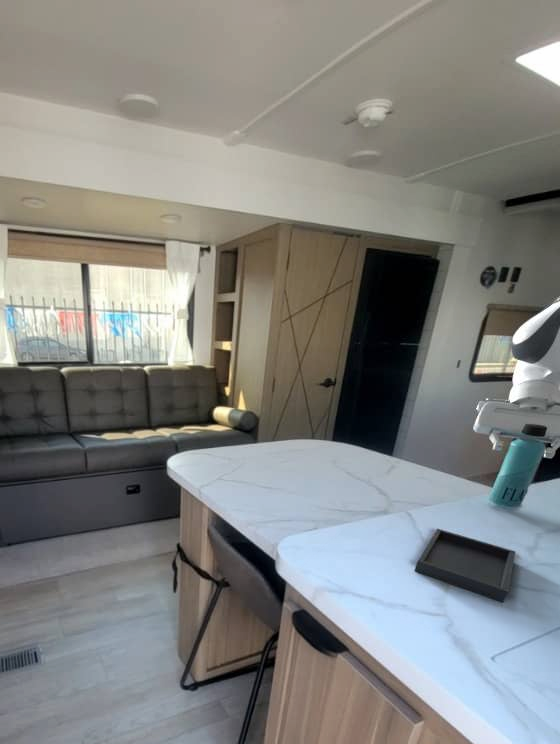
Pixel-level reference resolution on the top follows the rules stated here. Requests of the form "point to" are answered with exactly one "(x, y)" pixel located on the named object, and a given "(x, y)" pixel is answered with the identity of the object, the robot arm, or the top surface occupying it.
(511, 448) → the beverage bottle
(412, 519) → the top surface
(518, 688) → the top surface
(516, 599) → the top surface
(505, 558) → the tray
